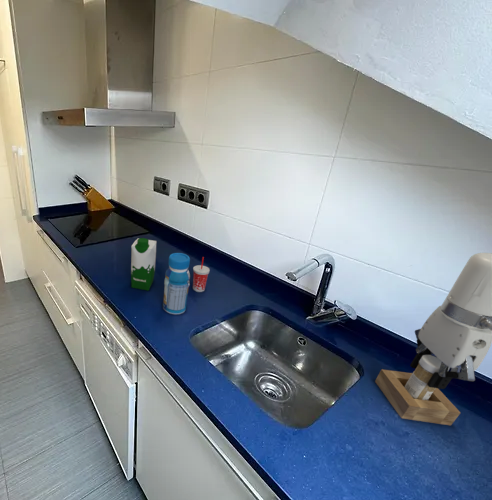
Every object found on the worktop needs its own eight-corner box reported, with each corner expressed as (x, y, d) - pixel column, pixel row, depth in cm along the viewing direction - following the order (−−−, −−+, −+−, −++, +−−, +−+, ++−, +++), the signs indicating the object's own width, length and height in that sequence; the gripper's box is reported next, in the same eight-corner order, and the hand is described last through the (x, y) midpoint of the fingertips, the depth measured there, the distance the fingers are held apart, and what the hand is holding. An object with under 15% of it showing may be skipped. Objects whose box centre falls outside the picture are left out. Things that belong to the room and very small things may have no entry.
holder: (417, 387, 73) (425, 374, 71) (450, 426, 64) (460, 412, 62) (374, 381, 74) (381, 369, 72) (401, 418, 65) (409, 405, 63)
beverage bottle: (174, 318, 94) (179, 265, 86) (157, 306, 100) (160, 255, 92) (191, 309, 99) (198, 258, 91) (174, 298, 105) (179, 249, 97)
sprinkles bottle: (426, 413, 66) (455, 372, 61) (403, 407, 68) (429, 366, 62) (416, 397, 70) (442, 356, 65) (394, 391, 72) (418, 351, 66)
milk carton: (128, 288, 110) (129, 240, 101) (135, 277, 118) (136, 232, 109) (150, 292, 108) (153, 244, 99) (156, 280, 116) (159, 235, 107)
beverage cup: (203, 295, 107) (208, 262, 102) (188, 290, 110) (192, 258, 104) (208, 287, 112) (213, 256, 106) (194, 283, 115) (198, 252, 109)
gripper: (534, 345, 50) (478, 414, 57) (453, 291, 65) (417, 352, 73) (486, 339, 50) (437, 408, 58) (416, 288, 66) (385, 348, 73)
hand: (426, 376), depth 65 cm, fingers closed on sprinkles bottle, 4 cm apart
